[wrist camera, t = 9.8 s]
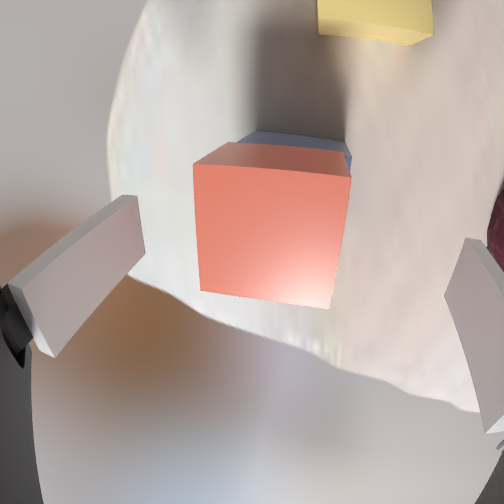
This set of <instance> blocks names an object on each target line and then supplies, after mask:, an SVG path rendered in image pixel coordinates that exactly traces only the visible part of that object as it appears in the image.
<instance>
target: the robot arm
mask: <svg viewBox="0 0 504 504" xmlns="http://www.w3.org/2000/svg"><path fill="white" fill-rule="evenodd" d="M144 255H145V247H144V240H143V234H142V227H141V220H140V213H139V205H138V197H137V196H133V195H122V196H120V197H119V198H117V199H116V200H114V201H113V202H111V203H110V204H108V205H107V206H105V207H104V208H103V209H101V210H100V211H98V212H97V213H96V214H94V215H93V216H91V217H90V218H89V219H87V220H86V221H84V222H83V223H82V224H80V225H79V226H77V227H76V228H75V229H73V230H72V231H71V232H69V233H68V234H67V235H66V236H64V237H63V238H62V239H60V240H59V241H58V242H56V243H55V244H54V245H53V246H52V247H50V248H49V249H48V250H46V251H45V252H44V253H43V254H41V255H40V256H39V257H38V258H36V259H35V260H34V261H33V262H32V263H30V264H29V265H28V266H27V267H26V268H24V269H23V270H22V271H21V272H20V273H19V274H17V275H16V276H15V277H14V278H13V279H12V280H11V281H9V282H8V283H7V285H5V286H4V287H3V288H2V289H1V287H0V504H43V499H42V494H41V489H40V483H39V477H38V471H37V464H36V456H35V449H34V438H33V425H32V410H31V409H32V407H31V357H32V352H31V347H30V345H29V344H28V343H29V342H30V341H31V339H32V338H33V339H34V340H35V342H36V344H37V346H38V348H39V350H40V351H42V352H44V353H46V354H48V355H50V356H52V357H54V358H55V357H56V356H57V355H58V353H59V352H60V351H61V350H62V348H63V347H64V346H65V345H66V343H67V342H68V341H69V340H70V338H71V337H72V336H73V335H74V334H75V333H76V331H77V330H78V329H79V328H80V327H81V325H82V324H83V323H84V322H85V321H86V319H87V318H88V317H89V316H90V315H91V314H92V312H93V311H94V310H95V309H96V308H97V306H98V305H99V304H100V303H101V302H102V301H103V300H104V299H105V297H106V296H107V295H108V294H109V293H110V292H111V291H112V290H113V288H114V287H115V286H116V285H117V284H118V283H119V282H120V280H121V279H122V278H123V277H124V276H125V275H126V274H127V273H128V272H129V271H130V270H131V269H132V267H133V266H134V265H135V264H136V263H137V262H138V261H139V260H140V259H141V258H142V257H143V256H144ZM444 297H445V299H446V302H447V304H448V307H449V310H450V312H451V315H452V318H453V320H454V323H455V326H456V329H457V332H458V335H459V338H460V341H461V344H462V347H463V350H464V353H465V356H466V359H467V363H468V366H469V370H470V373H471V377H472V380H473V384H474V388H475V392H476V395H477V400H478V404H479V408H480V412H481V416H482V421H483V426H484V431H485V433H493V432H501V431H504V272H503V271H502V269H501V268H500V266H499V265H498V264H497V262H496V261H495V259H494V258H493V256H492V255H491V254H490V252H489V251H488V249H487V248H486V247H485V245H484V244H483V243H482V241H481V240H476V239H471V238H465V241H464V244H463V247H462V250H461V253H460V255H459V258H458V261H457V264H456V266H455V269H454V272H453V274H452V277H451V280H450V282H449V285H448V287H447V289H446V292H445V294H444ZM503 445H504V440H503V441H502V442H501V443H500V444H499V445H498V446H497V449H498V450H499V449H500V448H501V447H502V446H503ZM475 504H504V450H503V451H502V455H501V457H500V459H499V461H498V463H497V465H496V467H495V469H494V471H493V473H492V475H491V477H490V478H489V480H488V482H487V484H486V486H485V488H484V489H483V491H482V493H481V494H480V496H479V498H478V499H477V501H476V503H475Z"/></svg>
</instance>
